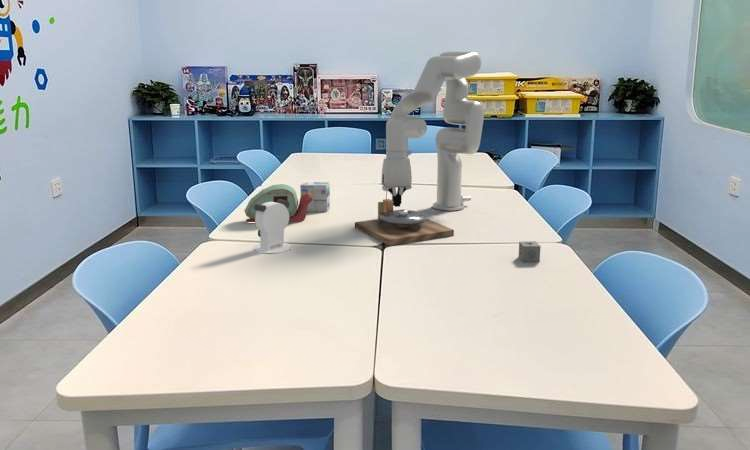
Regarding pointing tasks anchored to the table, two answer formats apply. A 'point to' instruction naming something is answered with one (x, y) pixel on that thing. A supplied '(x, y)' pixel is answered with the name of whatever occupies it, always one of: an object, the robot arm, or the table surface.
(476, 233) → the table surface
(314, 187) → the light bulb box
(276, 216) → the white mount stand
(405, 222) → the flange plate
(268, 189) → the toy snail
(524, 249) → the dice cube
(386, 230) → the pivot base
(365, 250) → the table surface
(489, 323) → the table surface
